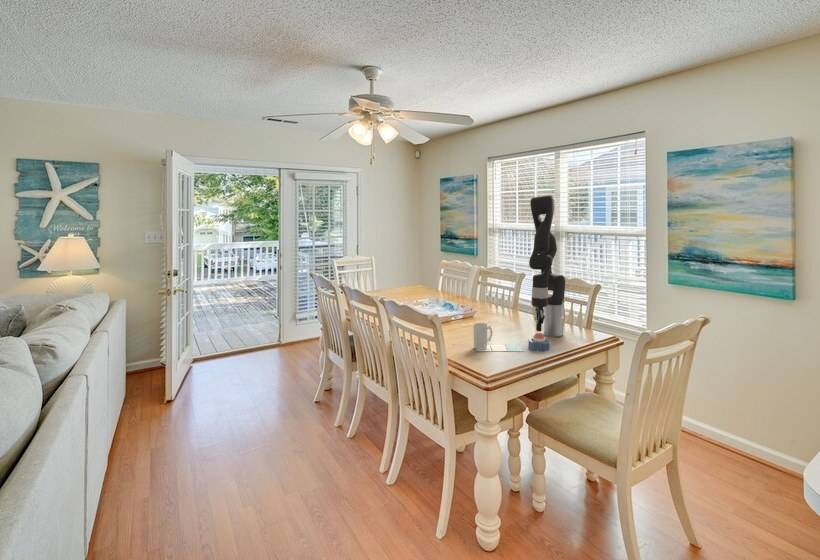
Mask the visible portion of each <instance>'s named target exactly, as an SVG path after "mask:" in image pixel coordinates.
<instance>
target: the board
mask: <svg viewBox="0 0 820 560" xmlns="http://www.w3.org/2000/svg"><path fill="white" fill-rule="evenodd" d="M475 352H476V353H477V352H482V353H486V352H487V353H489V352H490V353H494V352H495V353H496V352H497V353H498V352H499V353H502V352H505V353H506V352H507V353H515V352H516V353H517V352H518V353H520V352H521V353H522V352H525V351H524V350H523V348H522V346H521V344H520V343H519V344H517V343H515V344H514V343H513V344H512V343H508V344H507V343H502V344H501V343H500V344H499V343H495V344H494V343H490V344H489V343H487V349H485V350H477V349H475Z"/></svg>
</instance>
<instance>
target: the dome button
mask: <svg viewBox="0 0 820 560" xmlns="http://www.w3.org/2000/svg"><path fill="white" fill-rule="evenodd" d="M532 338H533V341H534V342H539V343H543V342H545V339H547V338H546V336H545V335H544V333H542V332H536V333H535V334H534V335H533V336H532Z"/></svg>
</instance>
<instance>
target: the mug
mask: <svg viewBox="0 0 820 560" xmlns="http://www.w3.org/2000/svg"><path fill="white" fill-rule="evenodd" d="M488 330H489V337H488ZM492 336H493V329H492V326H491V325H490V324H489V325H488V323H484V322H477V323H476V322H475V323H473V347H474V348H473V349H475V350H476V349H477V350H485V349H487V344H488V343H489V342H491V340H492Z"/></svg>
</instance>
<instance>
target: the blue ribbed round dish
mask: <svg viewBox="0 0 820 560" xmlns="http://www.w3.org/2000/svg"><path fill="white" fill-rule="evenodd" d="M527 346H528V349H529V350H531V351H534V352H546V351H549V350H550V339H548V338H546V339H545V342H543V343H539V342H534V341H533V337H529V338H528V345H527Z"/></svg>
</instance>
